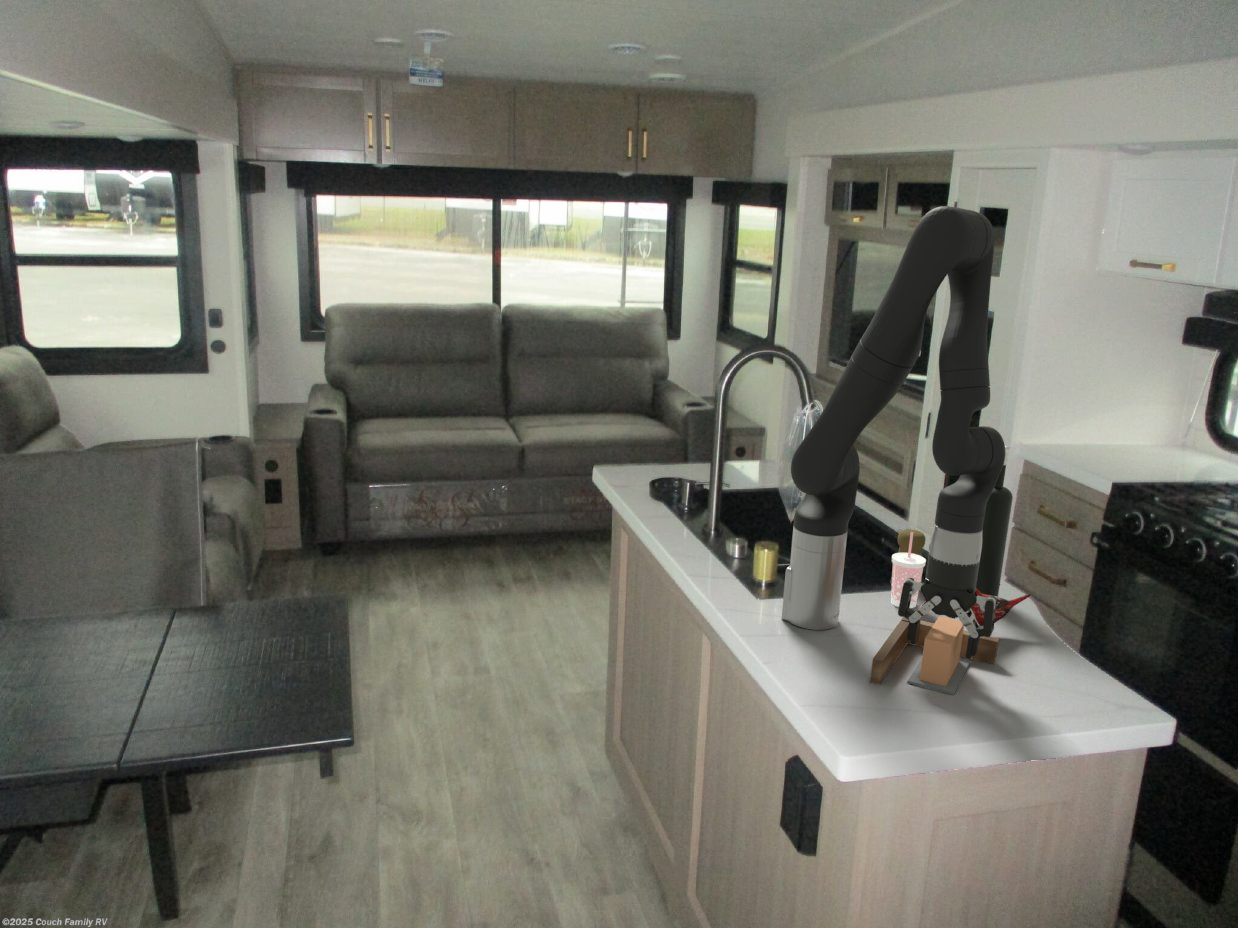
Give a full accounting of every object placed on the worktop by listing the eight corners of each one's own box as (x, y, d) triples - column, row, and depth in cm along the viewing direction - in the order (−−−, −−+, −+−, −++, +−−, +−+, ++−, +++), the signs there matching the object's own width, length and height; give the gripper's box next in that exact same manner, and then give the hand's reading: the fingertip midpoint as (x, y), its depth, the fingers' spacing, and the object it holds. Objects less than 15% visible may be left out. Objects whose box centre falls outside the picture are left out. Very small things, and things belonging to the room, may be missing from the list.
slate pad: (907, 682, 153) (907, 680, 153) (926, 651, 164) (926, 649, 164) (953, 695, 149) (953, 692, 149) (970, 662, 160) (970, 660, 160)
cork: (923, 591, 189) (930, 537, 186) (891, 588, 190) (897, 534, 187) (920, 580, 195) (927, 527, 192) (889, 576, 196) (895, 524, 193)
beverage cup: (926, 608, 181) (936, 537, 177) (896, 611, 180) (905, 538, 176) (909, 595, 187) (918, 526, 183) (880, 597, 185) (888, 527, 182)
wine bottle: (966, 602, 185) (987, 448, 177) (964, 590, 190) (985, 440, 182) (998, 606, 183) (1021, 451, 176) (995, 594, 189) (1018, 444, 181)
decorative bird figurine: (942, 637, 169) (950, 583, 167) (1019, 623, 176) (1027, 571, 174) (954, 644, 167) (962, 590, 164) (1032, 629, 174) (1040, 577, 171)
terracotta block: (934, 655, 162) (939, 615, 160) (959, 661, 160) (964, 621, 158) (919, 679, 153) (924, 638, 151) (945, 686, 151) (951, 644, 149)
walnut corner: (870, 681, 153) (872, 658, 152) (901, 637, 169) (903, 616, 168) (973, 709, 145) (977, 685, 144) (995, 660, 161) (999, 638, 160)
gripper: (1007, 556, 151) (992, 652, 155) (914, 537, 158) (902, 630, 162) (998, 571, 145) (983, 671, 149) (901, 551, 151) (889, 646, 156)
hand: (941, 649), depth 155 cm, fingers open, 8 cm apart
